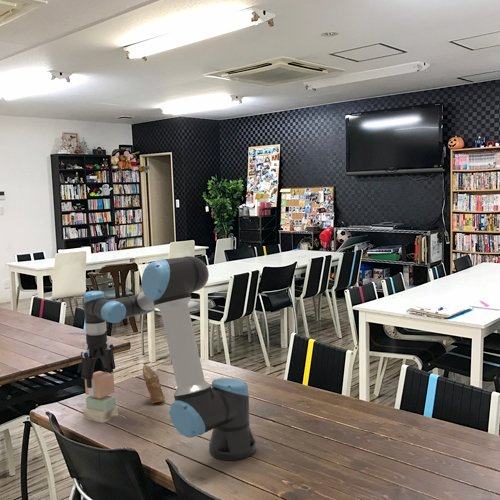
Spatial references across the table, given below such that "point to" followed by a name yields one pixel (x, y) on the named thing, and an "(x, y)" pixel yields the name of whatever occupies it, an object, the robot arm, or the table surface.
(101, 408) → the block top
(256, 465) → the table surface
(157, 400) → the figurine
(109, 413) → the block base
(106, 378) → the terracotta block
